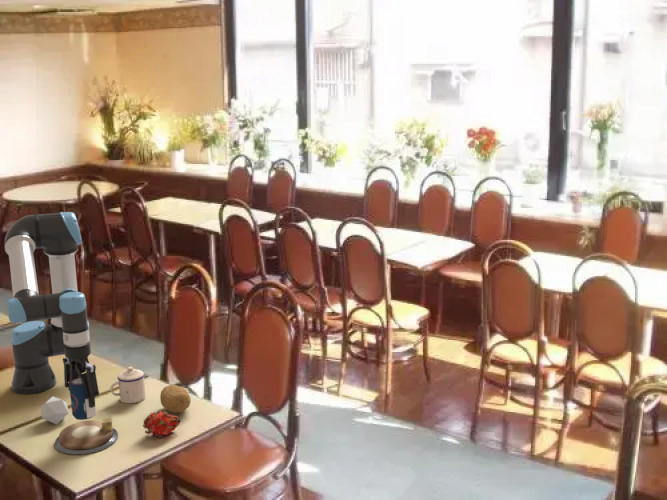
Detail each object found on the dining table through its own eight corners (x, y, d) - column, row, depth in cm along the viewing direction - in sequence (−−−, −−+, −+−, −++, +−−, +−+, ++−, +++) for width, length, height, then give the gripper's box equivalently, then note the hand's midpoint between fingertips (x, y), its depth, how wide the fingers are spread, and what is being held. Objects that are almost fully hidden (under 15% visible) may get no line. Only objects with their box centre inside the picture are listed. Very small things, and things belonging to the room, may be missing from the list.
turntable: (57, 452, 244) (55, 437, 243) (61, 429, 259) (60, 415, 258) (112, 446, 247) (111, 431, 246) (113, 423, 263) (112, 409, 261)
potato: (180, 399, 282) (179, 378, 280) (197, 414, 270) (196, 391, 268) (154, 406, 276) (152, 385, 274) (170, 421, 265) (168, 399, 263)
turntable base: (42, 443, 252) (42, 441, 252) (94, 421, 266) (94, 419, 266) (78, 461, 240) (78, 459, 240) (130, 437, 255) (130, 435, 255)
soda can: (69, 415, 252) (65, 379, 249) (91, 409, 256) (87, 373, 253) (77, 423, 247) (73, 386, 244) (99, 416, 251) (95, 380, 248)
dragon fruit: (140, 441, 255) (178, 439, 260) (145, 436, 248) (184, 434, 253) (140, 414, 258) (177, 413, 263) (144, 408, 251) (182, 407, 256)
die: (75, 421, 268) (70, 393, 271) (59, 419, 260) (55, 391, 263) (53, 429, 269) (50, 401, 273) (37, 427, 261) (33, 398, 265)
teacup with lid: (141, 391, 289) (139, 360, 286) (149, 400, 281) (147, 369, 279) (108, 398, 283) (105, 367, 280) (115, 408, 276) (112, 376, 273)
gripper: (47, 340, 249) (54, 409, 254) (85, 353, 237) (93, 425, 242) (68, 333, 254) (75, 400, 260) (107, 346, 242) (113, 417, 248)
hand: (84, 412), depth 251 cm, fingers closed on soda can, 7 cm apart
